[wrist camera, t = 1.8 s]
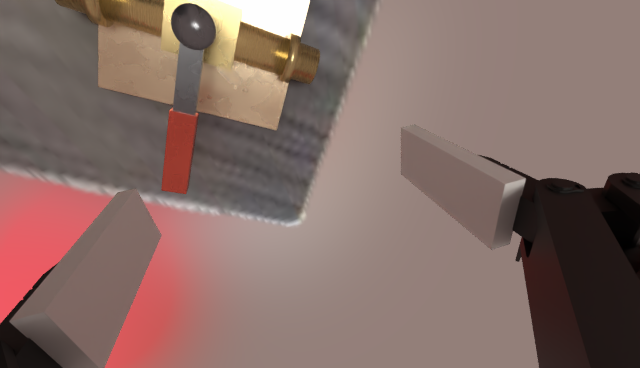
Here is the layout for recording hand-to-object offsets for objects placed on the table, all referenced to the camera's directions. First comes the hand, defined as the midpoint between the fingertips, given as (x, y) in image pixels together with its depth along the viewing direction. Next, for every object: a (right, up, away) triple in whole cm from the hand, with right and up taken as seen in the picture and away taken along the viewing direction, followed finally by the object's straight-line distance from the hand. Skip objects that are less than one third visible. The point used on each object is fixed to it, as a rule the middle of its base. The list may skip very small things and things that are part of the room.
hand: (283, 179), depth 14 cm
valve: (-11, +17, +17) cm, 27 cm away
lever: (-11, +7, +12) cm, 17 cm away
